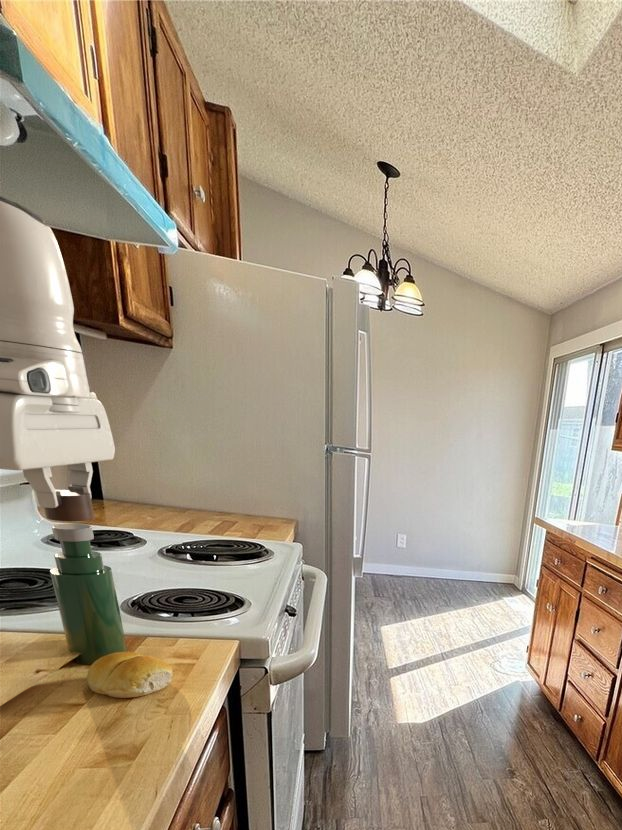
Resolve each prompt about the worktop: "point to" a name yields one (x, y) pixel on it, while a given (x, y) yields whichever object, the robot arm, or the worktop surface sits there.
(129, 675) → the bread roll
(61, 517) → the brown cylinder puck
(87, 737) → the worktop surface
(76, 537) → the green bottle
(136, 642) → the worktop surface
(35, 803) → the worktop surface
